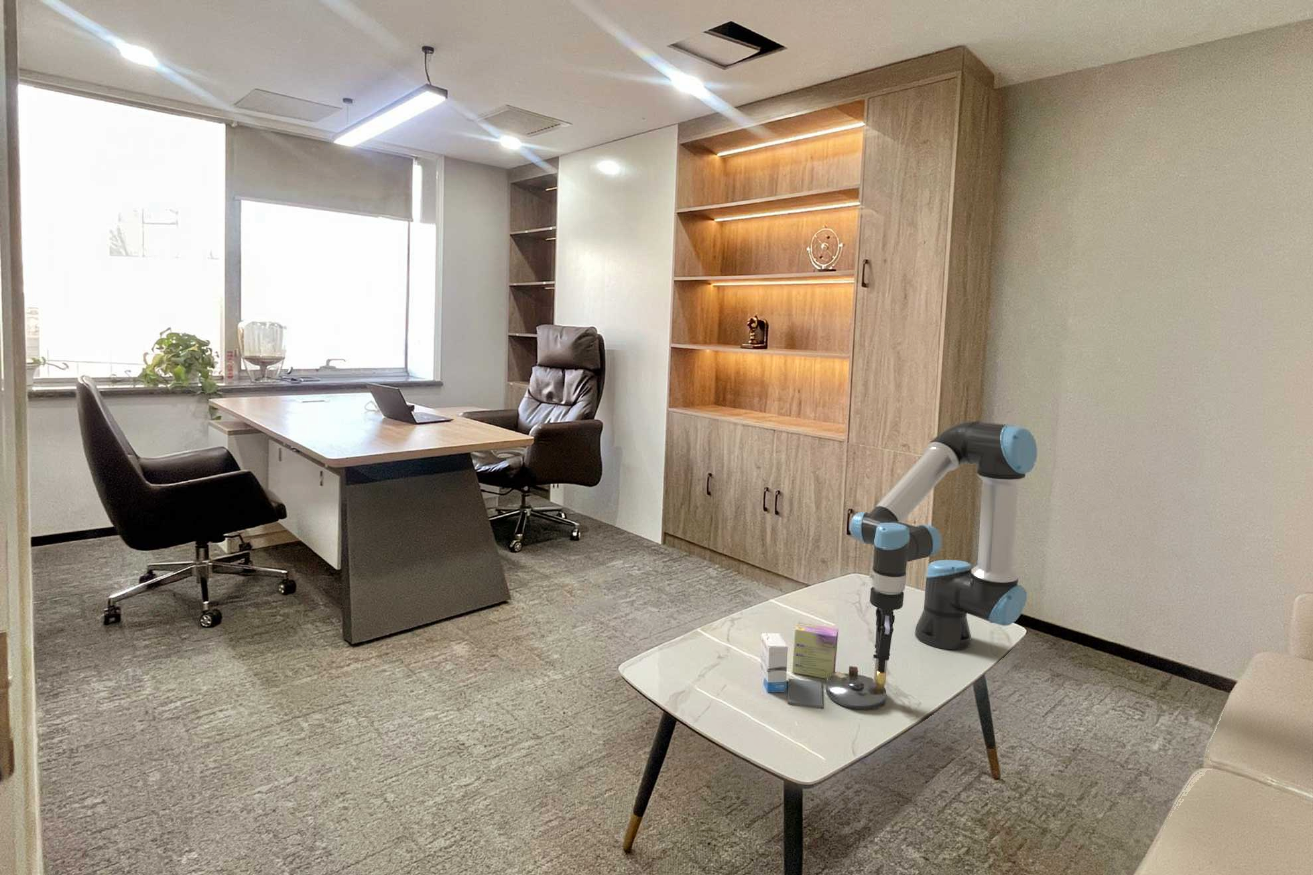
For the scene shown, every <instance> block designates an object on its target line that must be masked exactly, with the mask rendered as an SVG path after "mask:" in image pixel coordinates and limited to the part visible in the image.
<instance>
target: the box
mask: <svg viewBox="0 0 1313 875" xmlns="http://www.w3.org/2000/svg"><path fill="white" fill-rule="evenodd" d="M838 638H839V628H836V627H829V626H822V625H819V624H818V625H817V624H812V623H805V622H800V621H799V622H798V623H797V625H796V627H795V632H794V641H793V656H792V671H791V672H792V673H794V674H798V675H804V676H805V675H807V676H811V677H816V678H821V679H825V680H826V679H828V678H830V677H831V676H833V673H836V665H837V664H836V662H837V651H838Z"/></svg>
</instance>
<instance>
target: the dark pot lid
mask: <svg viewBox="0 0 1313 875" xmlns="http://www.w3.org/2000/svg"><path fill="white" fill-rule="evenodd" d="M885 674H886V675H887V671H886V672H885V671H884V672H878V670H877V676H876V683H874V682H873V678H872V677H869V676H865V675H862V674H859V673H858V674H849V673H841V672H840V671H837V672H836V671H835V673H833V676H831V677H830V678H828V679H827V680H826V682H825V694H826V696H827V697H828V698H829V699H831V700H832V701H833V702H835V703H836V704H839V705H840V706H844V707H847V708H850V709H855V710H874V709H878V708H880V707H882V706H883V705H885V703H886V699H887V689H886V687H885V685H886V682H885Z"/></svg>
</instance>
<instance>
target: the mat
mask: <svg viewBox="0 0 1313 875" xmlns="http://www.w3.org/2000/svg"><path fill="white" fill-rule="evenodd" d="M787 683H788V684H787V688H788V689H787V705H795V706H802V707H810V708H817V709H823V708H824V707H823V706H824V704H823V693H822V692H823V689H822V682H821V681H815V680H814V681H813V680H807V679H806V680H805V679H796V678H788V682H787Z"/></svg>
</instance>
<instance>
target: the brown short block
mask: <svg viewBox="0 0 1313 875" xmlns="http://www.w3.org/2000/svg"><path fill="white" fill-rule="evenodd" d="M848 674H858V675H859V669H858V666H853V665H852V666H851V665H849V667H848Z"/></svg>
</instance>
